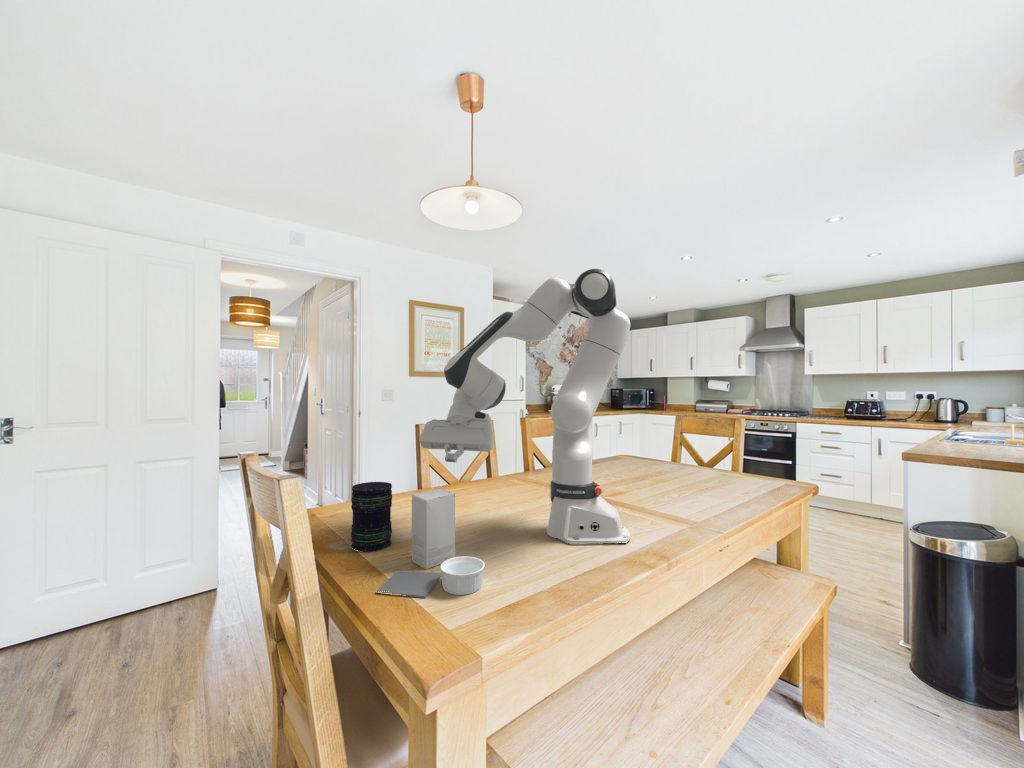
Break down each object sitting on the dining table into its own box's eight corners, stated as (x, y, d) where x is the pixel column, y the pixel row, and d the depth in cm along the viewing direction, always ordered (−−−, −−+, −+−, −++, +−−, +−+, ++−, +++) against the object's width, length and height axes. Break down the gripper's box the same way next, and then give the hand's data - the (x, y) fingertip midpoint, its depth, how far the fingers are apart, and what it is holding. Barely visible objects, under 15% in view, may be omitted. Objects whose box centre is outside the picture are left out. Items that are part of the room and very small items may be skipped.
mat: (442, 575, 89) (442, 573, 89) (425, 598, 79) (425, 596, 79) (397, 572, 90) (397, 570, 90) (375, 593, 80) (375, 591, 80)
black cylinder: (349, 541, 109) (350, 483, 109) (388, 536, 113) (389, 480, 113) (352, 555, 100) (353, 491, 100) (394, 548, 104) (395, 488, 104)
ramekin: (489, 593, 81) (489, 571, 81) (442, 600, 78) (443, 576, 78) (479, 574, 89) (479, 554, 89) (437, 579, 87) (437, 558, 87)
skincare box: (440, 552, 101) (440, 487, 102) (457, 560, 97) (457, 492, 97) (409, 562, 96) (410, 493, 96) (425, 570, 91) (426, 498, 91)
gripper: (424, 412, 119) (409, 451, 110) (495, 414, 116) (486, 455, 106) (430, 426, 124) (416, 465, 114) (498, 429, 120) (489, 470, 110)
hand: (450, 460), depth 110 cm, fingers closed
